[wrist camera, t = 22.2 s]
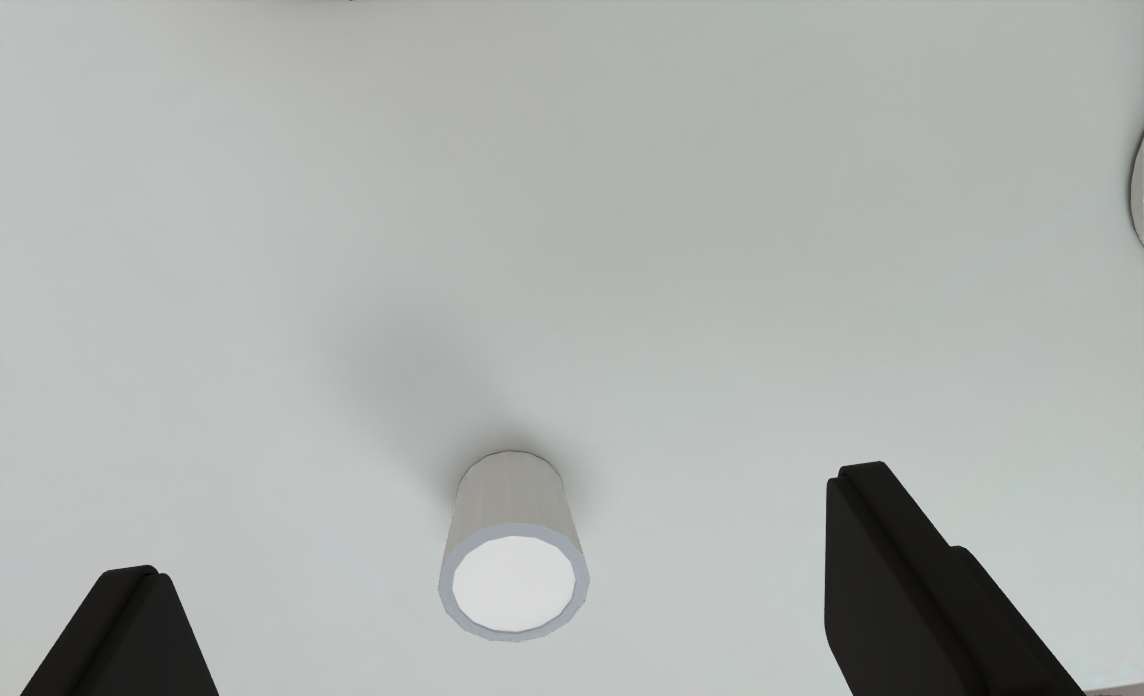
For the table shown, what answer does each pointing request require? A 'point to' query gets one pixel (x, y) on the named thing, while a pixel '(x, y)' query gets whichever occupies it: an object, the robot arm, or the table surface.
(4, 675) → the table surface
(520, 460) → the grey cylinder
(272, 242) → the table surface
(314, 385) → the table surface
